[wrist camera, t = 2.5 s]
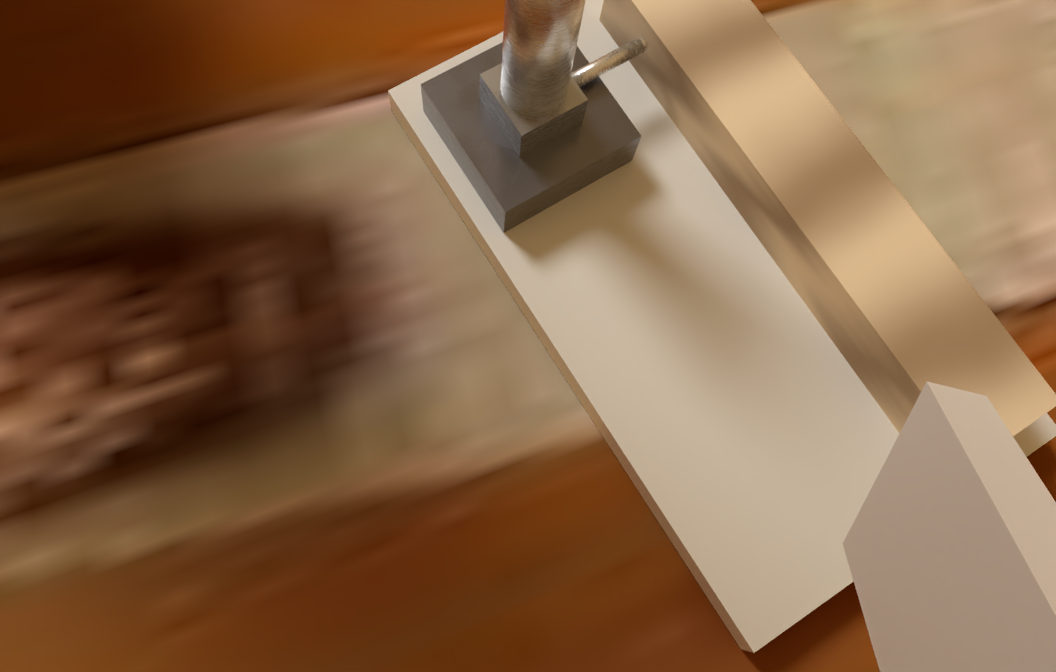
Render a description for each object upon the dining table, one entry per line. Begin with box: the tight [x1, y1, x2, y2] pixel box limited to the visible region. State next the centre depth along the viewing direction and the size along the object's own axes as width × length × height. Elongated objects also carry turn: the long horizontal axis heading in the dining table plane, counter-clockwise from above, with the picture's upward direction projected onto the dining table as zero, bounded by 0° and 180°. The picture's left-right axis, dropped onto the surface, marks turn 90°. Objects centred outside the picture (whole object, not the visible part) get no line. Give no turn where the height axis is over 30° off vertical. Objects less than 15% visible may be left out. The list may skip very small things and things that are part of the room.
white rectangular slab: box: [388, 0, 1056, 653], centre depth 34 cm, size 25×14×2 cm, turn 32°
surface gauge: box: [421, 0, 648, 233], centre depth 28 cm, size 6×8×13 cm
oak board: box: [599, 0, 1056, 436], centre depth 33 cm, size 22×4×3 cm, turn 32°
